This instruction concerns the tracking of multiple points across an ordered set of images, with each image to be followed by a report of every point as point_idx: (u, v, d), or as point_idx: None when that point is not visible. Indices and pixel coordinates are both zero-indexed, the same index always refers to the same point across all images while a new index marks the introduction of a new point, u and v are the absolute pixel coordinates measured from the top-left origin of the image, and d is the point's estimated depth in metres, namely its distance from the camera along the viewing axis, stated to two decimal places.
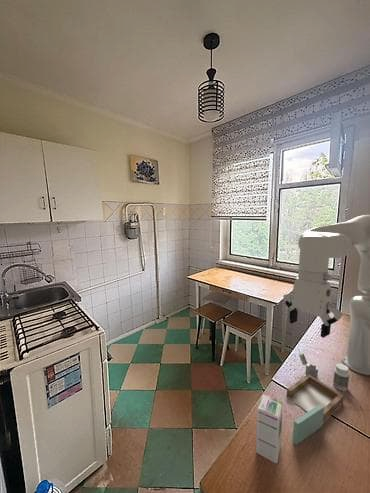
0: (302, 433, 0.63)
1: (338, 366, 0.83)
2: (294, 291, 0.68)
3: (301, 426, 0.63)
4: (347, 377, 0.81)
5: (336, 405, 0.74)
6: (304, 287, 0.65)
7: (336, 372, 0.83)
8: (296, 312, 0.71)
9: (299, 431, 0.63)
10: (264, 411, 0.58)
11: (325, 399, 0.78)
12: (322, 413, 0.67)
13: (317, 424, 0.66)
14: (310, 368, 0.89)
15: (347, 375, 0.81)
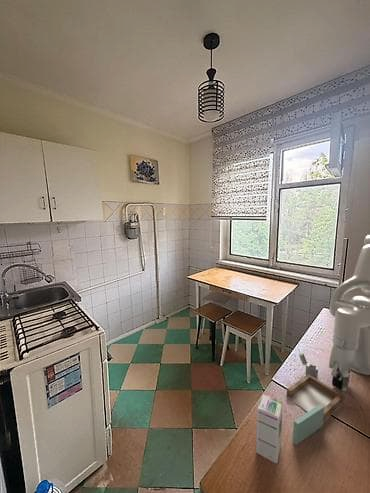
0: (302, 433, 0.63)
1: None
2: (345, 362, 0.78)
3: (301, 426, 0.63)
4: (347, 377, 0.81)
5: (336, 405, 0.74)
6: (351, 353, 0.79)
7: None
8: None
9: (299, 431, 0.63)
10: (264, 411, 0.58)
11: (325, 399, 0.78)
12: (322, 413, 0.67)
13: (317, 424, 0.66)
14: (310, 368, 0.89)
15: (347, 375, 0.81)
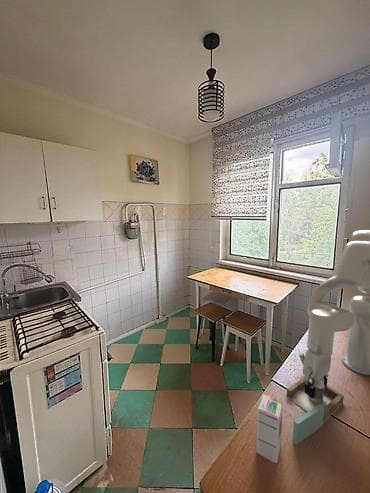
0: (302, 433, 0.63)
1: None
2: (318, 368, 0.72)
3: (301, 426, 0.63)
4: (322, 389, 0.75)
5: (336, 405, 0.74)
6: (325, 359, 0.73)
7: (311, 383, 0.77)
8: None
9: (299, 431, 0.63)
10: (264, 411, 0.58)
11: (325, 399, 0.78)
12: (322, 413, 0.67)
13: (317, 424, 0.66)
14: None
15: (322, 386, 0.76)
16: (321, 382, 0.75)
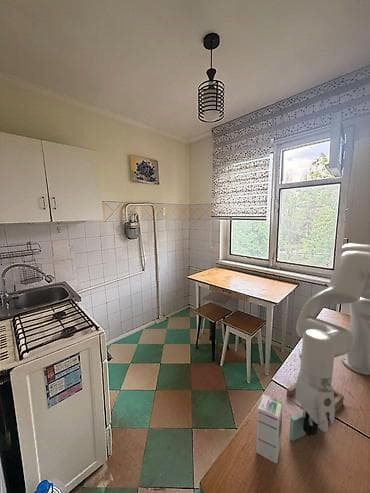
0: (299, 430, 0.64)
1: None
2: (297, 383, 0.64)
3: (297, 422, 0.63)
4: None
5: (336, 405, 0.74)
6: (304, 385, 0.61)
7: None
8: None
9: (296, 428, 0.64)
10: (264, 411, 0.58)
11: None
12: None
13: None
14: None
15: None
16: None
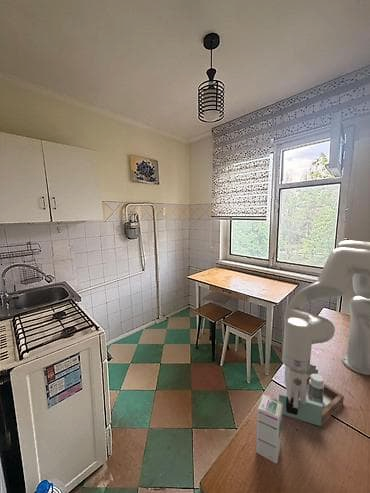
0: None
1: (313, 376, 0.77)
2: None
3: (284, 399, 0.71)
4: (321, 389, 0.75)
5: (336, 405, 0.74)
6: None
7: (310, 383, 0.77)
8: None
9: None
10: (264, 411, 0.58)
11: (325, 399, 0.78)
12: (319, 412, 0.68)
13: (310, 417, 0.69)
14: (310, 368, 0.89)
15: (321, 387, 0.76)
16: (320, 382, 0.75)
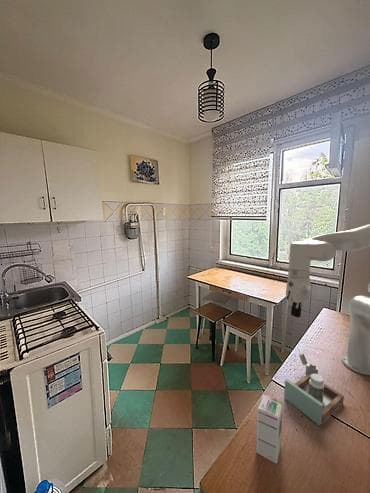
0: (290, 396, 0.76)
1: (313, 377, 0.77)
2: None
3: (289, 386, 0.77)
4: (321, 389, 0.75)
5: (336, 405, 0.74)
6: None
7: (310, 383, 0.77)
8: None
9: (287, 390, 0.77)
10: (264, 411, 0.58)
11: (325, 399, 0.78)
12: (318, 410, 0.68)
13: (310, 412, 0.71)
14: (310, 368, 0.89)
15: (321, 387, 0.75)
16: (320, 382, 0.75)
